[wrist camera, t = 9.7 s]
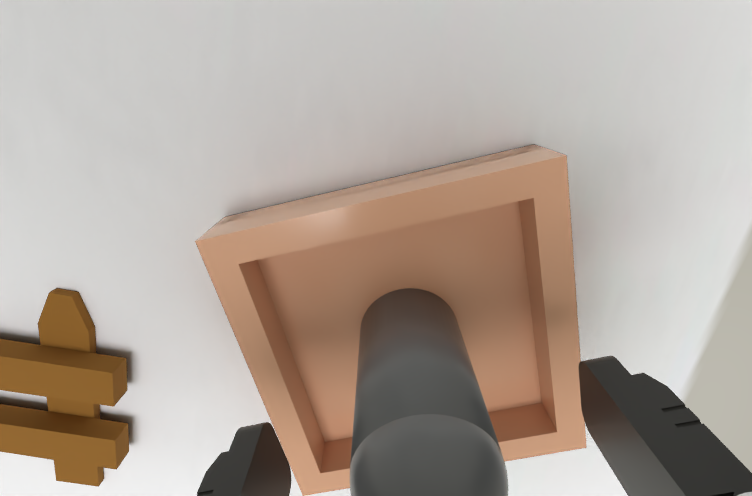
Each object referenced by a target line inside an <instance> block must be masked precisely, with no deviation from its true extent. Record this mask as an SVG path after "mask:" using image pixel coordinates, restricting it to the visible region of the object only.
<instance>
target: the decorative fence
mask: <svg viewBox="0 0 752 496" xmlns="http://www.w3.org/2000/svg"><path fill="white" fill-rule="evenodd" d="M38 328H39V337H40V345H38V344H31V343H25V342H18V341H12V340H5V339H0V390H4V391H11V392H18V393H25V394H32V395H39V396H45V397H47V405H48V411H43V410H37V409H30V408H23V407H17V406H10V405H4V404H0V451H1V452H7V453H14V454H20V455H27V456H33V457H40V458H46V459H52V460H54V465H55V474H56V481H63V482H70V483H77V484H85V485H92V486H99V485H100V484H101V482H102V481H103V479H104V473H103V467H104V468H111V469H117V468H118V466H119V465H120V464H121V462H122V461H123V459H124V458H125V456H126V455H127V453H128V452H129V433H128V423H123V422H116V421H109V420H103V419H100V405H99V404H101V405H107V406H115V404H116V403H117V402H118V401H119V400H120V398H121V397H122V396H123V395H124V394H125V392H126V391H127V359H126V358H122V357H116V356H109V355H103V354H96V338H95V325H94V323H93V321H92V319H91V317H90V315H89V313H88V311H87V309H86V307H85V304H84V302H83V300H82V298H81V296H80V294H79V292H77V291H71V290H65V289H59V288H56V289H54V290H53V291H51V292H50V293H49V294H48V297H47V300H46V303H45V305H44V308H43V311H42V313H41V316H40V319H39V322H38Z"/></svg>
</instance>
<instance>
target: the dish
mask: <svg viewBox="0 0 752 496" xmlns="http://www.w3.org/2000/svg"><path fill="white" fill-rule="evenodd" d="M195 242H196V245H197V247H198V249H199V252H200V254H201V256H202V259H203V261H204V263H205V266H206V268H207V271H208V273H209V275H210V278H211V280H212V282H213V285H214V287H215V289H216V292H217V294H218V296H219V299H220V301H221V304H222V306H223V308H224V311H225V313H226V315H227V318H228V320H229V322H230V325H231V327H232V329H233V332H234V334H235V337H236V339H237V341H238V344H239V346H240V348H241V351H242V353H243V355H244V358H245V360H246V363H247V365H248V367H249V370H250V372H251V374H252V377H253V379H254V381H255V384H256V386H257V388H258V391H259V393H260V396H261V398H262V400H263V403H264V405H265V407H266V410H267V412H268V414H269V417H270V419H271V421H272V424H273V426H274V429H275V431H276V433H277V436H278V438H279V440H280V443H281V445H282V447H283V450H284V452H285V454H286V457H287V459H288V462H289V464H290V466H291V469H292V471H293V473H294V476H295V478H296V480H297V483H298V485H299V488H300V490H301V492H302V495H303V496H305V495H311V494H316V493H322V492H328V491H334V490H340V489H346V488H350V462H351V448H352V435H353V422H354V408H355V395H356V382H357V368H358V355H359V341H360V329H361V322H362V319H363V316H364V314H365V312H366V311H367V309H368V308H369V307H370V305H371V304H372V303H373V302H374V301H375V300H377V299H378V298H380V297H381V296H383V295H385V294H387V293H389V292H391V291H395V290H398V289H405V288H414V289H422V290H426V291H429V292H431V293H433V294H436V295H437V296H439V297H440V298H442V299H443V300H444V301H445V302H446V303H447V304H448V305H449V306H450V307H451V309H452V310H453V312H454V314H455V317H456V320H457V323H458V325H459V328H460V331H461V334H462V337H463V340H464V343H465V346H466V349H467V352H468V355H469V358H470V361H471V364H472V367H473V370H474V372H475V375H476V378H477V381H478V384H479V387H480V390H481V393H482V396H483V399H484V402H485V405H486V408H487V411H488V414H489V417H490V419H491V422H492V425H493V428H494V431H495V434H496V437H497V440H498V443H499V446H500V449H501V452H502V455H503V459H504V461H510V460H516V459H522V458H528V457H534V456H540V455H545V454H551V453H557V452H563V451H569V450H575V449H581V448H586V435H585V421H584V418H583V414H582V409H581V396H580V382H579V363H580V362H581V361H580V347H579V332H578V317H577V302H576V288H575V273H574V258H573V244H572V229H571V214H570V199H569V185H568V170H567V155H564V154H561V153H558V152H555V151H552V150H549V149H546V148H544V147H541V146H538V145H535V144H533V145H529V146H524V147H520V148H516V149H512V150H507V151H503V152H499V153H495V154H490V155H486V156H482V157H478V158H473V159H469V160H465V161H461V162H456V163H452V164H448V165H444V166H439V167H435V168H431V169H427V170H422V171H418V172H414V173H410V174H405V175H401V176H397V177H393V178H388V179H384V180H380V181H376V182H371V183H367V184H363V185H359V186H354V187H350V188H346V189H342V190H337V191H333V192H329V193H325V194H321V195H316V196H312V197H308V198H304V199H299V200H295V201H291V202H287V203H282V204H278V205H274V206H270V207H265V208H261V209H257V210H253V211H248V212H244V213H240V214H236V215H231V216H227V217H224V218H223V219H221V220H220V221H219V222H218V223H217V224H215V225H214V226H213V227H212V228H211V229H209V230H208V231H207V232H206V233H205V234H203V235H202V236H201V237H200V238H198V239H197V240H196V241H195Z"/></svg>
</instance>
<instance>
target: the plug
mask: <svg viewBox="0 0 752 496" xmlns="http://www.w3.org/2000/svg"><path fill="white" fill-rule="evenodd" d="M350 491H351V496H508V479H507V470H506V466H505V462H504V459H503V455H502V452H501V449H500V446H499V443H498V440H497V437H496V434H495V431H494V428H493V425H492V422H491V419H490V417H489V414H488V411H487V408H486V405H485V402H484V399H483V396H482V393H481V390H480V387H479V384H478V381H477V378H476V375H475V372H474V370H473V367H472V364H471V361H470V358H469V355H468V352H467V349H466V346H465V343H464V340H463V337H462V334H461V331H460V328H459V325H458V323H457V320H456V317H455V314H454V312H453V310H452V309H451V307H450V306H449V305H448V304H447V303H446V302H445V301H444V300H443V299H442V298H440V297H439V296H437V295H436V294H433V293H431V292H429V291H426V290H422V289H414V288H405V289H398V290H395V291H391V292H389V293H387V294H385V295H383V296H381V297H380V298H378V299H377V300H375V301H374V302H373V303H372V304H371V305H370V307H369V308H368V309H367V311H366V312H365V314H364V316H363V319H362V322H361V329H360V341H359V355H358V368H357V382H356V395H355V408H354V422H353V435H352V448H351V462H350Z"/></svg>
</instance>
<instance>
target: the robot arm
mask: <svg viewBox="0 0 752 496" xmlns="http://www.w3.org/2000/svg"><path fill="white" fill-rule="evenodd" d="M579 382H580V396H581V409H582V414H583V418H584V421H585V424H586V426H587V428H588V431H589V433H590V434H591V436H592V438H593V439H594V441H595V443H596V444H597V446H598V448H599V449H600V451H601V452H602V454H603V456H604V457H605V459H606V460H607V462H608V464H609V465H610V467H611V469H612V470H613V472H614V473H615V475H616V477H617V478H618V480H619V481H620V483H621V485H622V486H623V488H624V490H625V491H626V493H627V494H628V496H752V473H751V472H750V471H749V470H748V469H747V468H746V467H745V466H744V465H743V464H742V463H741V462H740V461H739V460H738V459H737V458H736V457H735V456H734V455H733V454H732V452H730V450H728V448H726V446H725V445H724V444H723V443H722V442H721V441H720V440H719V439H718V438H717V437H716V436H715V435H714V434H713V433H712V432H711V431H710V430H709V429H708V428H707V427H706V426H705V425H704V424H701V422H700V420H699V419H698V417H697V416H695V414H694V413H693V412H692V411H691V410H690V409H689V408H686V407H685V404H684V403H683V402H682V401H681V400H680V399H679V398H678V397H677V396H676V395H675V394H674V393H673V392H672V391H671V390H670V389H669V388H668V387H667V386H666V385H664V384H662V383H660V382H659V381H657V380H655V379H653V378H652V377H650V376H648V375H646V374H645V373H640V374H635V375H631V374H630V373H629V372H628V371H627V370H626V369H625V368H624V367H623V365H622V364H621V363H620V362H619V361H618V360H617V359H616V358H615V357H613V356H607V357H602V358H596V359H591V360H586V361H581V362H580V363H579ZM290 488H291V471H290V466H289V462H288V460H287V458H286V456H285V453H284V451H283V449H282V447H281V444H280V442H279V440H278V438H277V435H276V433H275V431H274V429H273V427H272V425H271V424H270V423H268V422H266V423H261V424H256V425H251V426H246V427H241V428H239V429H238V431H237V432H236V434H235V437H234V440H233V442H232V445H231V447H230V450H229V451H228V452H223V453H221V454H220V455H219V456H218V458H217V459H216V460H215V461H214V463H213V464H212V465H211V466H210V468H209V469H208V470H207V471H206V473H205V476H204V478H203V480H202V483H201V485H200V487H199V490H198V492H197V496H289V493H290Z"/></svg>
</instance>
